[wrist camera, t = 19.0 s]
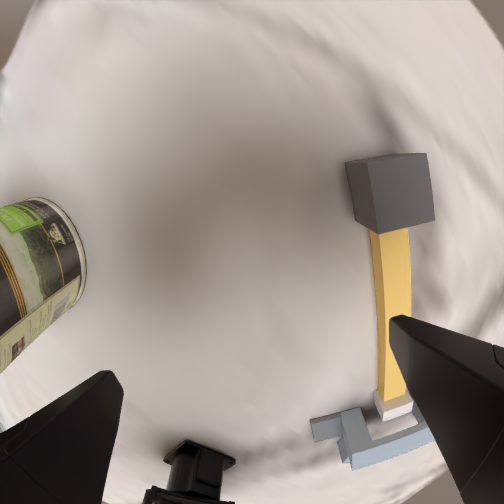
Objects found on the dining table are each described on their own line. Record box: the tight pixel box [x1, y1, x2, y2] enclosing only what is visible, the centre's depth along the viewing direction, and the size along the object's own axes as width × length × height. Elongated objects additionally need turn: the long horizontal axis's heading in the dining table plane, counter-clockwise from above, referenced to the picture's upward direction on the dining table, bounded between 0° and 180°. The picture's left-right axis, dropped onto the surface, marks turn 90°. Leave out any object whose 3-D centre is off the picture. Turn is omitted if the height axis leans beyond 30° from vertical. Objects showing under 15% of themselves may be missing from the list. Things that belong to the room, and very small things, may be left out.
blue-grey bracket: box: [310, 397, 435, 471], centre depth 22 cm, size 6×16×5 cm, turn 104°
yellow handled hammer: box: [345, 153, 435, 422], centre depth 19 cm, size 22×4×4 cm, turn 14°
